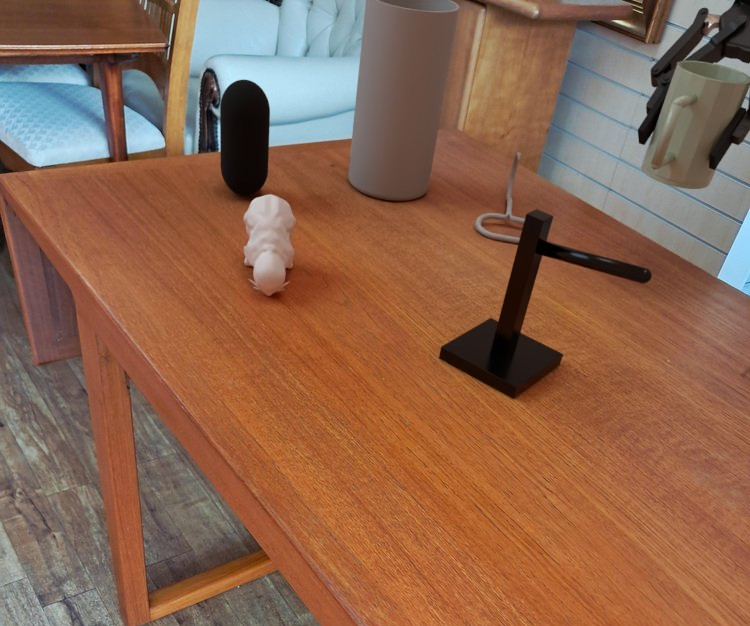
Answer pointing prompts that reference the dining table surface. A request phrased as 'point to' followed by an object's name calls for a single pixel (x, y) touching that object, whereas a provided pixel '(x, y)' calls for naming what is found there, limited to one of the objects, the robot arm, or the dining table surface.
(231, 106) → the decorative object
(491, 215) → the hook
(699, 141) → the mug
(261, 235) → the white animal figurine
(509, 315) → the mug stand
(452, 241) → the dining table surface
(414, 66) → the cylinder vase
